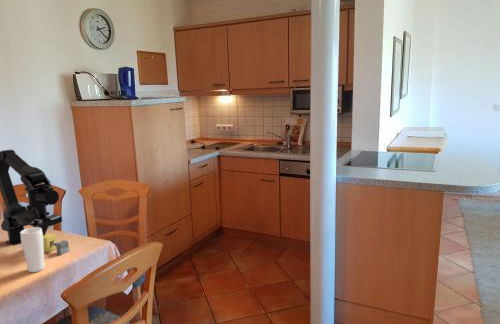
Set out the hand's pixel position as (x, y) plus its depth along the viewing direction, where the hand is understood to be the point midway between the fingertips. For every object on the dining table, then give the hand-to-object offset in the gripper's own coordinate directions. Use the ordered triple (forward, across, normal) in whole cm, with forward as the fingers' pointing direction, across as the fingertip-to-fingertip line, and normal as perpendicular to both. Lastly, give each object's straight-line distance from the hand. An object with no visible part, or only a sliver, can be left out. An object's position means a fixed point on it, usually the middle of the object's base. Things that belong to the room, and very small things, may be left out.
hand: (42, 238), depth 149 cm
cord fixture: (+5, +3, 0) cm, 5 cm away
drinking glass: (+5, +14, -14) cm, 20 cm away
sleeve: (+4, +3, 0) cm, 5 cm away
